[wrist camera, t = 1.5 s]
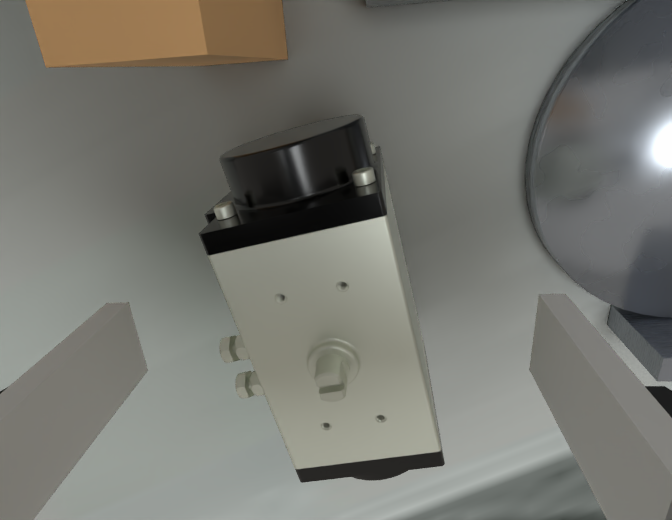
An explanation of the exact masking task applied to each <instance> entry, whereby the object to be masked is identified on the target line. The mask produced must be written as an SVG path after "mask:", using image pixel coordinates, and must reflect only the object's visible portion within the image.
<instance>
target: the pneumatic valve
mask: <svg viewBox="0 0 672 520" xmlns="http://www.w3.org/2000/svg"><path fill="white" fill-rule="evenodd" d="M220 163H221V165H222V168H223V171H224V173H225V176H226V179H227V181H228V184H229V187H230V190H231V192H230V193H229V194H228V195H226V196H225V197H224V198H223V199H222V200H221V201H220V202H218V203H217V204H216V205H215V206H214V207H213V208H212V209H210V210H209V211H208V212H207V213H206V214H205V217H206V219H207V222H208V225H207V226H206V227H205V228H204V229H203V230H202V231H201V232H200V233H199V236H200V238H201V241H202V243H203V246H204V248H205V250H206V253H207V255H208V258H209V260H210V263H211V265H212V267H213V270H214V272H215V275H216V277H217V280H218V282H219V285H220V287H221V289H222V292H223V294H224V297H225V299H226V302H227V304H228V306H229V309H230V311H231V314H232V316H233V319H234V321H235V323H236V326H237V328H238V331H239V333H240V335H237V336H231V337H225V338H222V339H221V341H220V354H221V357H222V359H223V361H224V362H226V363H229V362H234V361H238V360H246V359H250V360H251V362H252V365H253V367H254V370H255V371H253V372H251V371H248V372H243V373H239V374H238V375H237V377H236V391H237V394H238V396H239V397H241V398H249V397H251V396H253V395H256V396H262V395H265V397H266V399H267V401H268V404H269V406H270V409H271V411H272V414H273V416H274V418H275V421H276V423H277V426H278V428H279V431H280V433H281V436H282V438H283V440H284V443H285V445H286V448H287V450H288V453H289V455H290V457H291V460H292V462H293V465H294V467H295V470H296V472H297V474H298V477H299V479H300V482H310V481H319V480H327V479H336V478H344V477H354V478H357V479H362V480H383V479H388V478H392V477H395V476H398V475H400V474H402V473H404V472H406V471H408V470H412V469H420V468H429V467H437V466H443V465H444V457H443V451H442V445H441V439H440V433H439V428H438V422H437V416H436V410H435V404H434V398H433V392H432V387H431V381H430V375H429V369H428V363H427V357H426V352H425V346H424V342H423V337H422V333H421V328H420V324H419V319H418V315H417V310H416V306H415V301H414V297H413V292H412V288H411V284H410V279H409V275H408V270H407V266H406V261H405V257H404V252H403V248H402V243H401V239H400V234H399V230H398V225H397V221H396V216H395V212H394V207H393V203H392V198H391V194H390V189H389V185H388V180H387V176H386V171H385V167H384V162H383V158H382V153H381V149H380V146H378V147H375V146H374V143H370V141H369V136H368V132H367V128H366V123H365V119H364V117H363V116H362V115H347V116H341V117H336V118H331V119H327V120H323V121H318V122H314V123H311V124H307V125H303V126H299V127H296V128H292V129H289V130H285V131H282V132H279V133H275V134H272V135H269V136H266V137H263V138H260V139H257V140H254V141H251V142H249V143H246V144H243V145H241V146H238V147H236V148H234V149H231V150H229V151H227V152H225V153H224V154H222V155H221V157H220Z"/></svg>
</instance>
